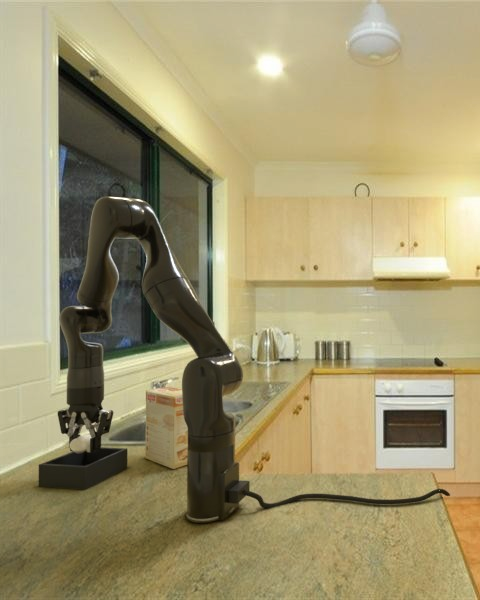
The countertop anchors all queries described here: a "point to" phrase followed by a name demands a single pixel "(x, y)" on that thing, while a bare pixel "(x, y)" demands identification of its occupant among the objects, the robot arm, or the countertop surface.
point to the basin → (82, 468)
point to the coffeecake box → (166, 427)
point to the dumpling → (80, 444)
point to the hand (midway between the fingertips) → (85, 450)
